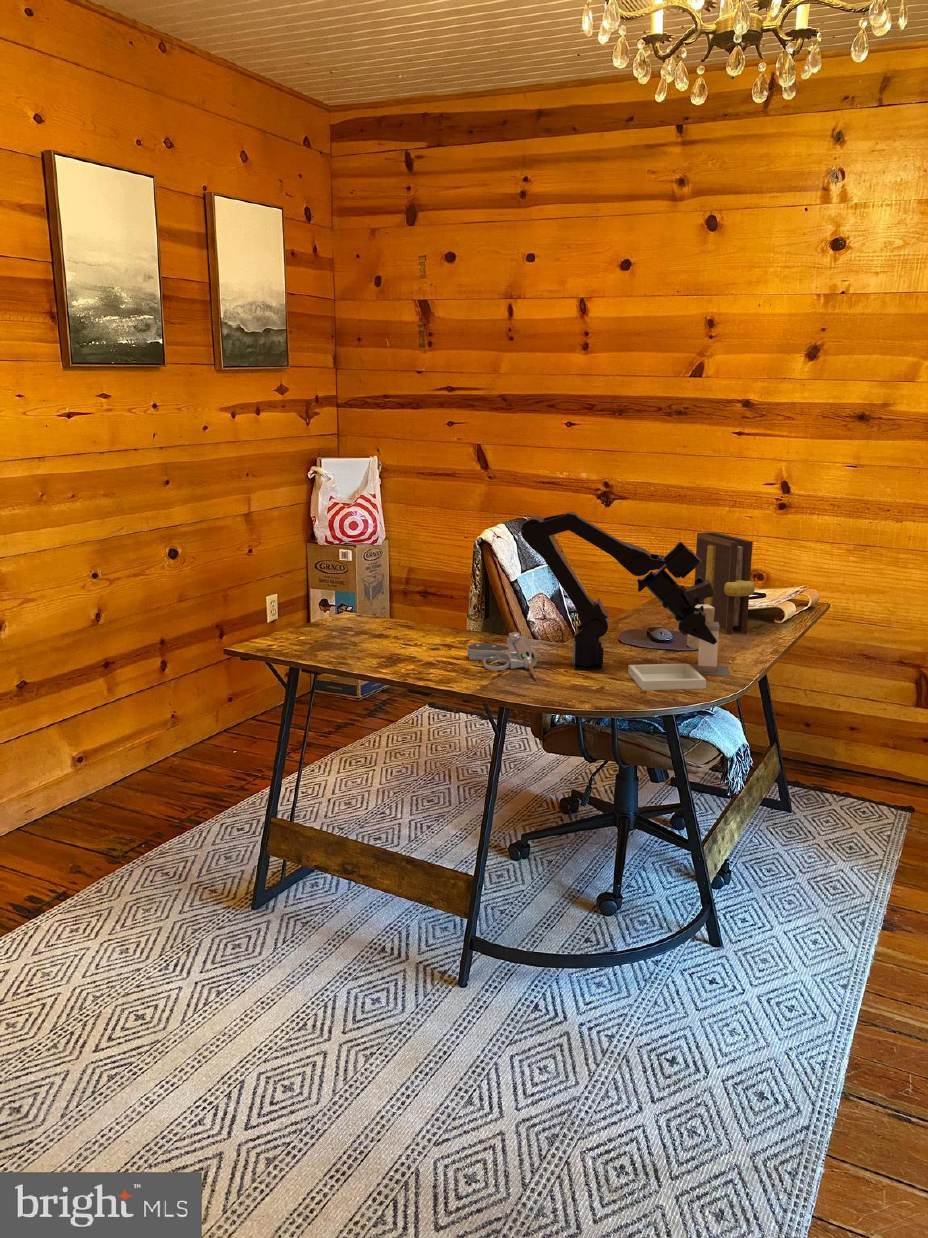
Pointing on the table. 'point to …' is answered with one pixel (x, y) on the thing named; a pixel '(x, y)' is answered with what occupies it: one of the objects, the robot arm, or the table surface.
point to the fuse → (708, 651)
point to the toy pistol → (505, 653)
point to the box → (709, 612)
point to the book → (726, 578)
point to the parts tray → (666, 677)
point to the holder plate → (720, 671)
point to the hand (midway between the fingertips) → (714, 640)
